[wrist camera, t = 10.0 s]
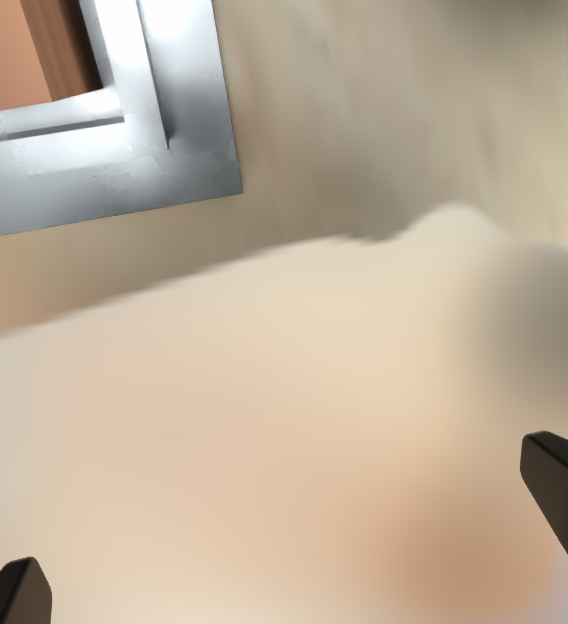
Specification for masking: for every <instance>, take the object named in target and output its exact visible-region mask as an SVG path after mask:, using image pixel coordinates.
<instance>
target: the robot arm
mask: <svg viewBox="0 0 568 624" xmlns="http://www.w3.org/2000/svg"><path fill="white" fill-rule="evenodd" d="M520 472H521V475H522V478H523V480H524V482H525V484H526V485H527V487H528V489H529V491H530V492H531V494H532V496H533V497H534V499H535V501H536V502H537V504H538V506H539V507H540V509H541V511H542V513H543V514H544V516H545V518H546V519H547V521H548V523H549V524H550V526H551V528H552V529H553V531H554V533H555V535H556V536H557V538H558V540H559V541H560V543H561V544H562V546H563V548H564V549H565V551H566V552H567V554H568V440H567V439H565V438H563V437H560V436H558V435H556V434H553V433H551V432H548V431H539V432H535V433H531V434H527V435H525V436H524V438H523V440H522V449H521V460H520ZM51 610H52V592H51V589H50V586H49V583H48V581H47V580H46V577H45V575H44V573H43V571H42V570H41V567H40V566H39V563H38V561H37V560H36V559H35V558H34V557H27V558H22V559H18V560H14V561H11V562H9V563H7V564H6V565H5V566H4V567H3V568H2V569H1V570H0V624H50V623H51Z"/></svg>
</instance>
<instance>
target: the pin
mask: <svg viewBox="0 0 568 624" xmlns="http://www.w3.org/2000/svg"><path fill="white" fill-rule="evenodd" d="M101 89H103V85H102V82H101V78H100V75H99V71H98V68H97V64H96V60H95V57H94V53H93V50H92V46H91V43H90V39H89V35H88V32H87V28H86V25H85V21H84V18H83V14H82V10H81V7H80V3H79V0H0V111H2V110H8V109H14V108H20V107H25V106H31V105H37V104H43V103H49V102H54V101H58V100H62V99H66V98H70V97H74V96H78V95H81V94H85V93H89V92H93V91H97V90H101Z"/></svg>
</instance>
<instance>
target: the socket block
mask: <svg viewBox="0 0 568 624" xmlns="http://www.w3.org/2000/svg"><path fill="white" fill-rule="evenodd" d="M79 3H80V7H81V10H82V14H83V18H84V21H85V25H86V28H87V32H88V35H89V39H90V43H91V46H92V50H93V53H94V57H95V60H96V64H97V68H98V71H99V75H100V78H101V82H102V85H103V89H101V90H97V91H93V92H89V93H85V94H81V95H78V96H74V97H70V98H66V99H62V100H58V101H54V102H49V103H43V104H37V105H31V106H25V107H20V108H14V109H8V110H2V111H0V236H1V235H7V234H12V233H18V232H24V231H29V230H35V229H41V228H47V227H52V226H58V225H64V224H70V223H75V222H81V221H87V220H93V219H98V218H104V217H110V216H115V215H121V214H127V213H133V212H138V211H144V210H150V209H156V208H161V207H167V206H173V205H178V204H184V203H190V202H196V201H201V200H207V199H213V198H219V197H224V196H230V195H236V194H242V193H243V191H242V185H241V179H240V173H239V167H238V160H237V154H236V148H235V142H234V136H233V130H232V124H231V118H230V112H229V106H228V100H227V94H226V88H225V82H224V76H223V69H222V63H221V57H220V51H219V45H218V39H217V33H216V27H215V21H214V15H213V9H212V3H211V0H79Z"/></svg>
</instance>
